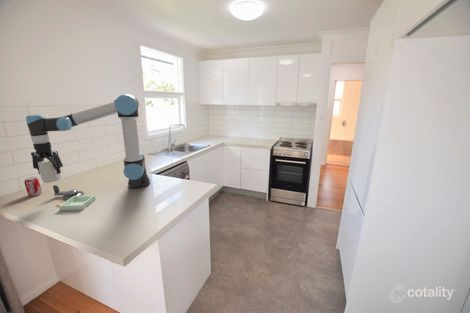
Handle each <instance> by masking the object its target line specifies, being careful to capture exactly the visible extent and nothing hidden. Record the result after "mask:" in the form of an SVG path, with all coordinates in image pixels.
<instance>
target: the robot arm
mask: <svg viewBox="0 0 470 313" xmlns="http://www.w3.org/2000/svg"><path fill="white" fill-rule="evenodd" d="M113 115H117V118H119V119H120V120H121V128H122V139H123V145H124V153H125V157H124V158H123V166H124V168H123V174H124V177H125V178H127V179H128V181H127V185H128V188H129V189H141V188H145V187H147V186H149V185H150V184H151V179H150V177H149V176H148V174H147V166H146V161H145V160H146V157H145V155H144V154H142V153H141V152H140V143H139V134H138V132H139V131H138V125H137V123H138V122H137V119H138V118H140V117H139V100H138V99H137V98H136V97H135V96H134V95H132V94H125V93H124V94H121V95H119V96H117V98H116V99H114V100H113V102H108V103H106V104H102V105H99V106H95V107H92V108H88V109H84V110H81V111H78V112H75V113H70V114H67V115H63V116H59V117H51V118H50V117H49V118H46V117H45V116H44V115H42V114H33V115H31V114H30V115H26V116H25V121H26V126H27V128H28V131H29V134H30V138H31V142H32V143H33V144H32V145H33V149H34V150H35V151H33V152H30V155H31V159H32V167H33V169H36V170H37V172H38V174H39V175H40V179H41V180H42V176H41V173H40V170H39V166H38V162H42V161H44V160H45V159H46V160H49V161H50V162H52V164H53V166H54V168H55V169H54V171H55V175H56V179H57V181H59V180H58V179H60V180H61V179H62V174H61V173H62V171H61V168H62V167H64V165H63V162H62V161H61V159H60V156H59V152H58V151H57V150H55V151H53V150H52V144H51V142H50V137H49V133H48V132H61V131H62V132H67V131H70V130H72V128H73V127H78V126H80V125H83V124H87V123H90V122H94V121H97V120H100V119H103V118H107V117H110V116H113Z"/></svg>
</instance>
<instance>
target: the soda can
mask: <svg viewBox="0 0 470 313" xmlns="http://www.w3.org/2000/svg"><path fill="white" fill-rule="evenodd" d="M23 182H24V186H25V190H26V194H27V195H28V197H29V196H30V197H36V196H39V195H41V194H42V186H41V183H40V180H39V179H38V177H37V176H29V177H26V178H25V179H24V181H23Z"/></svg>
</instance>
